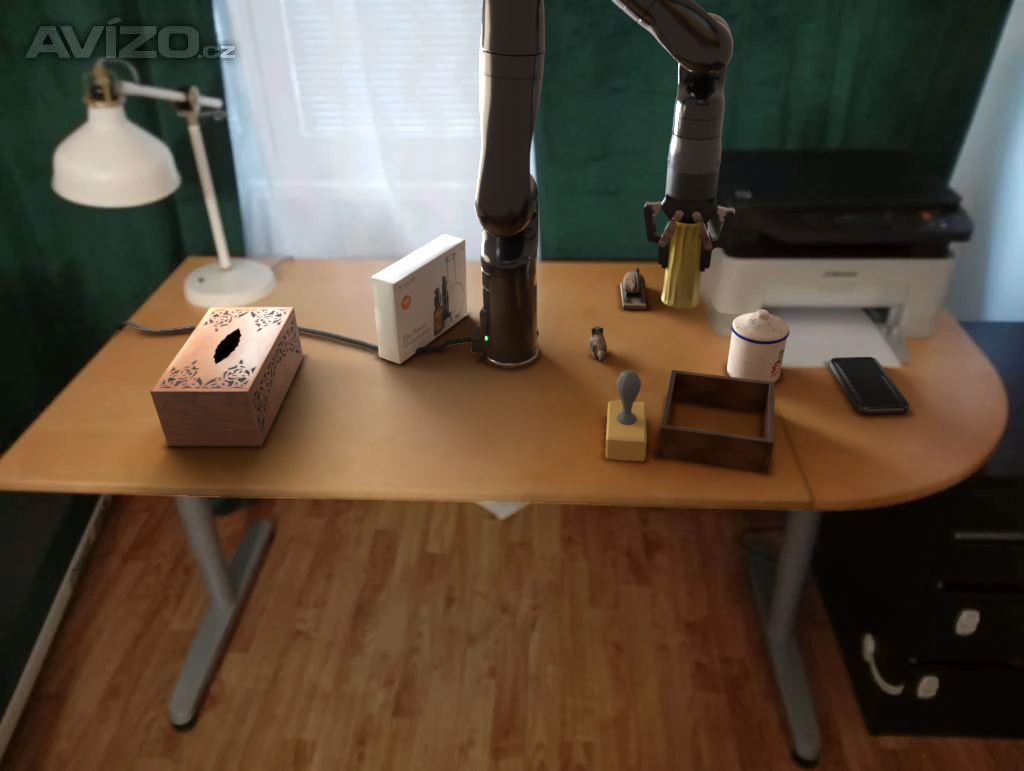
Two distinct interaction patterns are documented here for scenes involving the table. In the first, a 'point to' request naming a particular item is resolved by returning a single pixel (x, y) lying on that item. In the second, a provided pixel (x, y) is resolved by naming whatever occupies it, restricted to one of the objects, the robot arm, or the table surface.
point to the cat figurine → (598, 343)
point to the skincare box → (420, 297)
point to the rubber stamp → (626, 421)
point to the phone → (868, 386)
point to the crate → (717, 444)
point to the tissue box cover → (229, 377)
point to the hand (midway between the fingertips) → (683, 267)
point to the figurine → (633, 290)
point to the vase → (683, 267)
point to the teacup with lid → (757, 346)
